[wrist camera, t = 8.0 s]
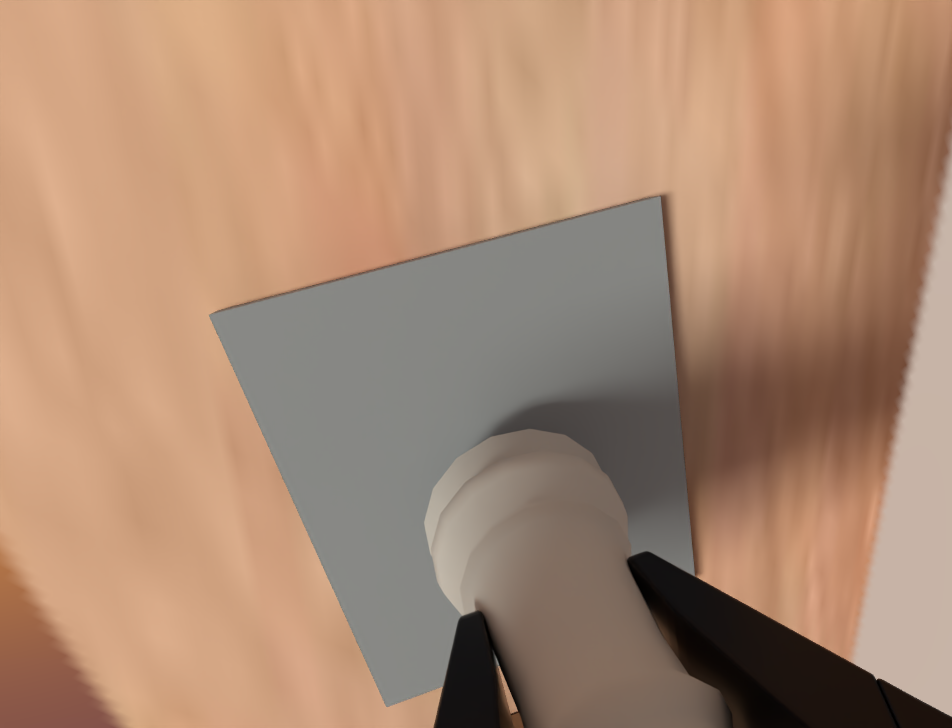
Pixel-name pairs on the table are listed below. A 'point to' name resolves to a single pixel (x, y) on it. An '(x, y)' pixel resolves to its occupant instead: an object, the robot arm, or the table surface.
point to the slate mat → (463, 404)
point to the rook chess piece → (558, 588)
